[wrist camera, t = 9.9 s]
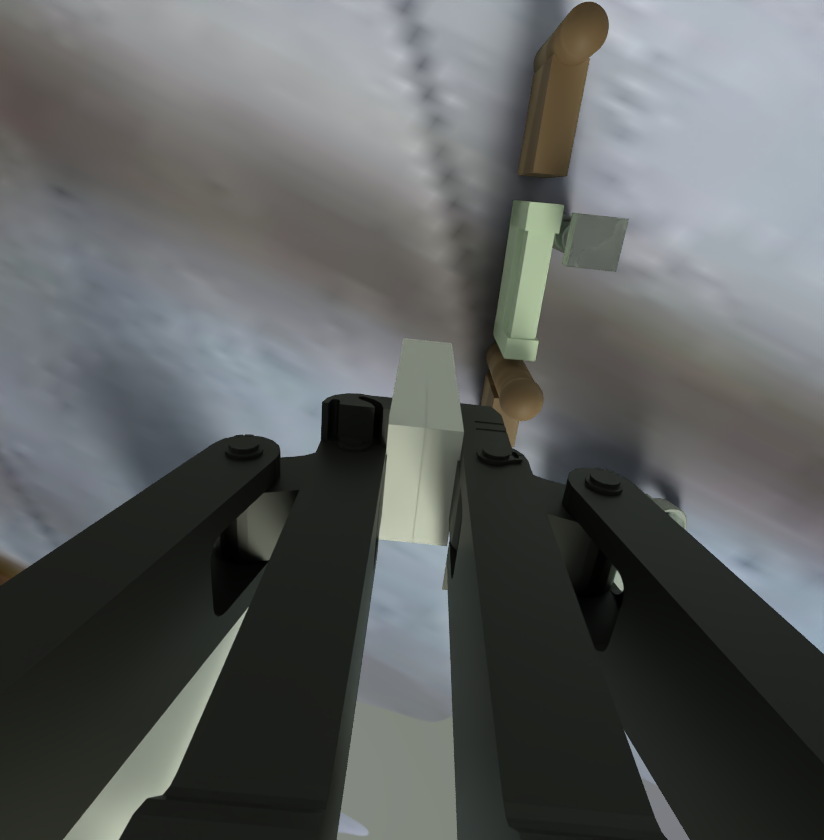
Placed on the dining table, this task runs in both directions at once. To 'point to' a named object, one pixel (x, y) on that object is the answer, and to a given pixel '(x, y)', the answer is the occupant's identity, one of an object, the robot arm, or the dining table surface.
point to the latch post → (590, 241)
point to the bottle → (154, 754)
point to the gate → (525, 277)
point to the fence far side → (560, 91)
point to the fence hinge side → (510, 391)
